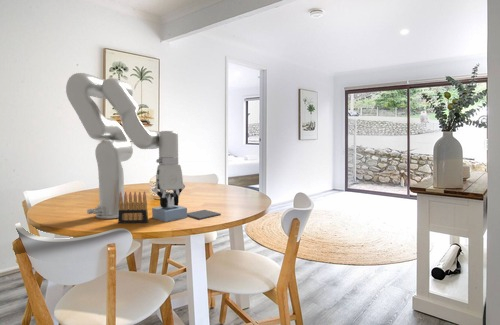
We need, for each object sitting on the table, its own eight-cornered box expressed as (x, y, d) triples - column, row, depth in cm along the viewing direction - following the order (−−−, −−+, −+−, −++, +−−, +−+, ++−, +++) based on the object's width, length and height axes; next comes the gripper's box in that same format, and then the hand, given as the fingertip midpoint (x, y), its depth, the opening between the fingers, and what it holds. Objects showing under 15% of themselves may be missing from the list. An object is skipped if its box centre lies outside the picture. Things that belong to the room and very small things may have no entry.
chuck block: (165, 222, 122) (165, 211, 122) (152, 217, 129) (152, 207, 129) (187, 217, 129) (186, 207, 129) (173, 213, 136) (173, 204, 136)
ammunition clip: (148, 221, 123) (147, 191, 122) (147, 223, 121) (146, 191, 120) (119, 222, 122) (119, 191, 121) (118, 223, 120) (117, 192, 119)
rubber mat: (199, 219, 126) (199, 218, 126) (183, 215, 133) (183, 213, 133) (220, 215, 134) (220, 213, 134) (204, 210, 141) (204, 209, 141)
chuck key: (170, 220, 125) (170, 194, 124) (160, 216, 130) (159, 192, 130) (179, 218, 128) (178, 193, 127) (168, 215, 133) (168, 191, 133)
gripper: (154, 163, 119) (155, 210, 120) (191, 161, 131) (192, 204, 132) (144, 162, 124) (145, 208, 125) (181, 160, 136) (182, 202, 137)
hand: (169, 205), depth 129 cm, fingers open, 4 cm apart
